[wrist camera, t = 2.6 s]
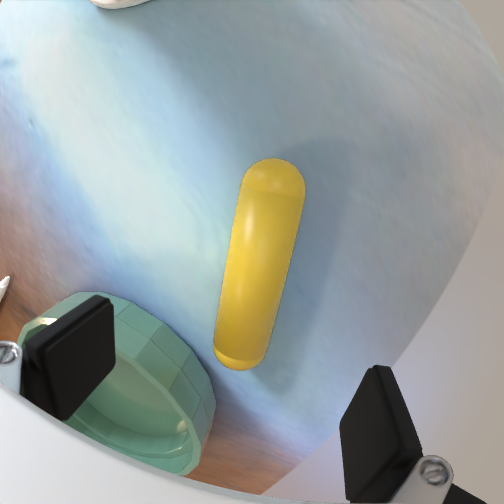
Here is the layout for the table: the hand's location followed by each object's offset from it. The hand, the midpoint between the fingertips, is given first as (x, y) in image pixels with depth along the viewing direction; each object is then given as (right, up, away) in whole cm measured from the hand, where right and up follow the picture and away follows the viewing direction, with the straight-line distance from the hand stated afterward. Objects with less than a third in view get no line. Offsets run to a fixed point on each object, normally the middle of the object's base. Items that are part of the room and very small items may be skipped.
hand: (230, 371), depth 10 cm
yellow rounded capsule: (+1, +3, +10) cm, 10 cm away
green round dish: (-11, -8, +14) cm, 20 cm away
